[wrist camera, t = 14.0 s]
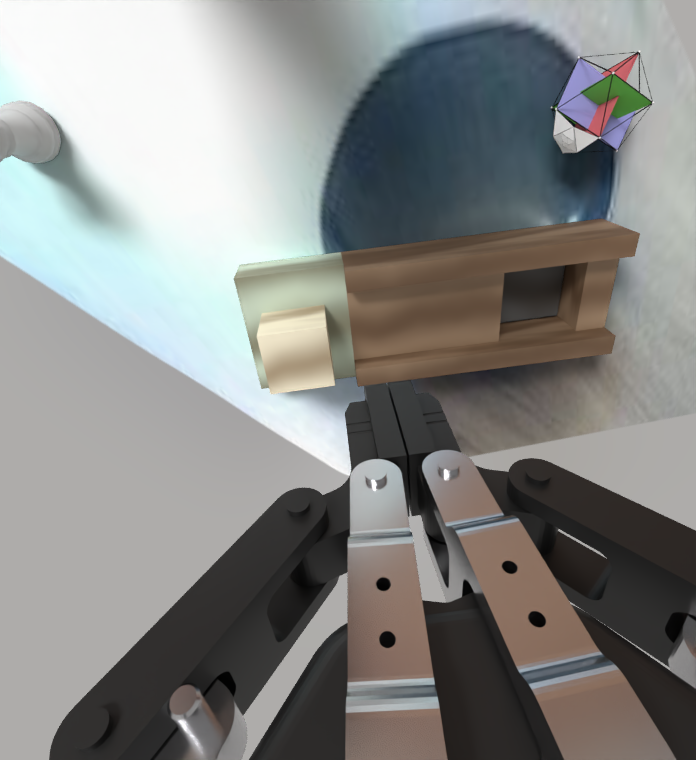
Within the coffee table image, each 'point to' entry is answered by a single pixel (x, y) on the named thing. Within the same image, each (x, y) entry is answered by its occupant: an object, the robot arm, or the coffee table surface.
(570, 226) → the channel deck
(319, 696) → the robot arm
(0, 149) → the rook chess piece
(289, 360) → the birch block
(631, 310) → the coffee table surface
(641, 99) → the geometric puzzle
